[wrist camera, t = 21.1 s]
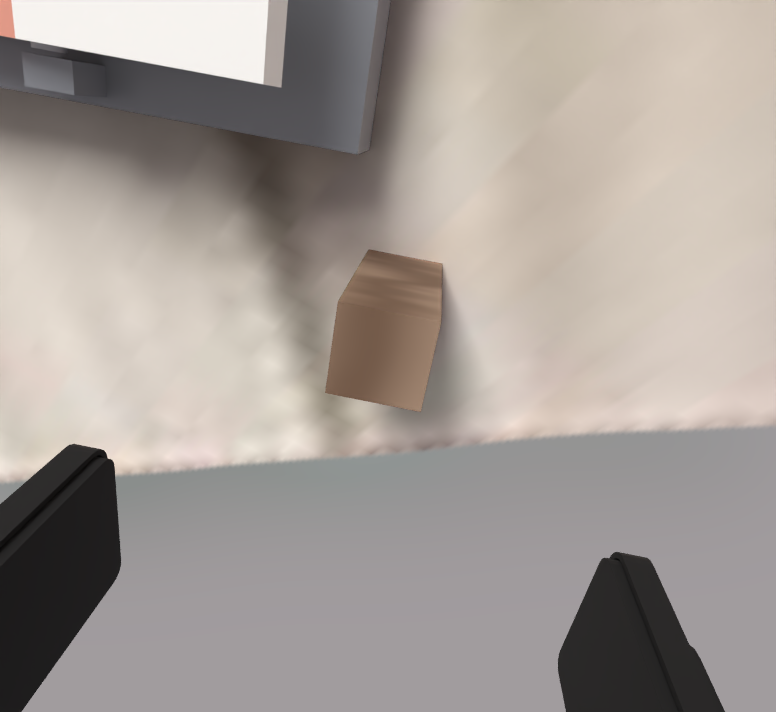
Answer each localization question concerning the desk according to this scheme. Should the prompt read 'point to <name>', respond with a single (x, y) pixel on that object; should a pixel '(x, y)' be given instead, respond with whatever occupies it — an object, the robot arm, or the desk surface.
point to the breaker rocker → (161, 32)
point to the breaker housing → (236, 97)
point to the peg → (386, 331)
